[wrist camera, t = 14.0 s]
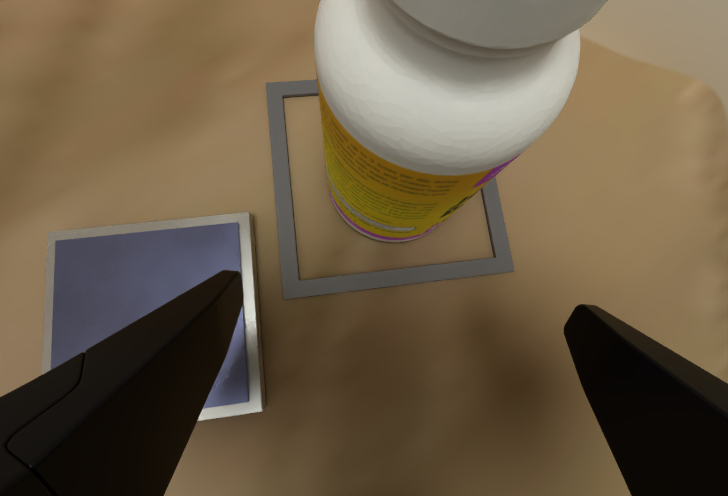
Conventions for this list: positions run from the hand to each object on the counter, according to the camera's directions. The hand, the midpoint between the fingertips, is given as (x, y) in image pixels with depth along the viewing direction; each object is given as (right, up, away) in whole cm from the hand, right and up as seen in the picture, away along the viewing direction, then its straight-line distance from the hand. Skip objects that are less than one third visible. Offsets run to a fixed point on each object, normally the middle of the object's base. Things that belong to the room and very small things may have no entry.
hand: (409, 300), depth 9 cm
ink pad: (-11, -2, +7) cm, 13 cm away
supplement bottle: (0, +5, +9) cm, 10 cm away
